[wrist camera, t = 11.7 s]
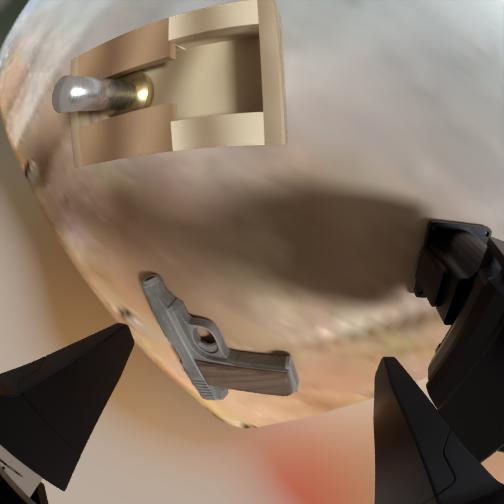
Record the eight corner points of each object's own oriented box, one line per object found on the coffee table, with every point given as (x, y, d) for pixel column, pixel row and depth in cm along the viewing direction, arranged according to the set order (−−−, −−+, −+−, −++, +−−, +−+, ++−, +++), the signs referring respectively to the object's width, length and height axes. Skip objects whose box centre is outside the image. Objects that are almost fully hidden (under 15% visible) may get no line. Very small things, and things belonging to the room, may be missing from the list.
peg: (153, 65, 16) (86, 49, 10) (155, 116, 18) (85, 118, 11) (112, 79, 17) (44, 75, 11) (113, 126, 19) (45, 135, 12)
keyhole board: (279, 15, 13) (273, -2, 11) (286, 143, 17) (281, 144, 15) (93, 63, 17) (71, 60, 14) (97, 161, 21) (75, 167, 18)
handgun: (253, 265, 19) (131, 286, 23) (298, 403, 24) (197, 401, 28) (262, 248, 22) (149, 271, 26) (301, 381, 27) (206, 383, 31)
